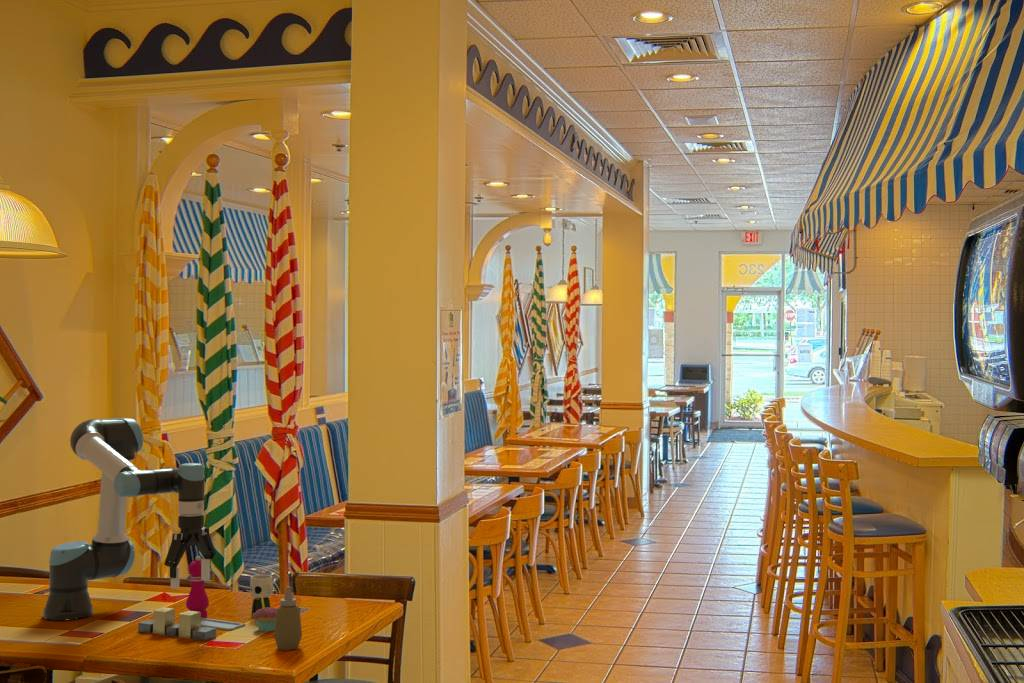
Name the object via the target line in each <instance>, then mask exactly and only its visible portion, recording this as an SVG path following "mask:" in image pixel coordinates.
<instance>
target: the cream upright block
mask: <svg viewBox="0 0 1024 683" xmlns="http://www.w3.org/2000/svg"><path fill="white" fill-rule="evenodd" d="M152 613H153V617H152V620H153V633H155V634H154V635H159V634H162V635H161V636H166V634H167V627H168V626H171V625H174V624H176V608H172V607H166V606H165V607H164V606H163V607H160V608H157V609H156V608H155V609H153V612H152Z"/></svg>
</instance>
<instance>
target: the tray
mask: <svg viewBox="0 0 1024 683" xmlns="http://www.w3.org/2000/svg"><path fill="white" fill-rule="evenodd" d="M245 626H246V623H245V622H244V623H242V622H238V621H235V622H234V621H229V620H220V619H214V618H208V617H206V618H203V617H202V618H201V628H202V627H209V628H216V630H223V631H230V632H231V631H234V630H236V629H239V628H242V627H245Z"/></svg>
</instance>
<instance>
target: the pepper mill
mask: <svg viewBox="0 0 1024 683" xmlns="http://www.w3.org/2000/svg"><path fill="white" fill-rule="evenodd" d="M201 559H202V557H201V556H200V555H196V556H195V560H193V561H191V562H190V564H189V565H188V569H187V570H188V573H189V574H190V576H189V581H190V584H191V585H190V591H189V593H188V596H187V597H186V601H185V607H186V609H188V611H196V612H201V618H205V617H206V618H208V610H207V608H208V607H209V604H210V600H209V596H208V594H207V592H206V588H205V580H201Z"/></svg>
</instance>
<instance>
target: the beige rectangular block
mask: <svg viewBox="0 0 1024 683" xmlns="http://www.w3.org/2000/svg"><path fill="white" fill-rule="evenodd" d="M178 623H179V637H178V638H180V637H183V638H182V639H186V638H190V639H189V640H192V639H191V638H192V635H193V630H196V629H199V628H202V627H201V612H196V611H189V610H187V611H184V612H181V613H178Z"/></svg>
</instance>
